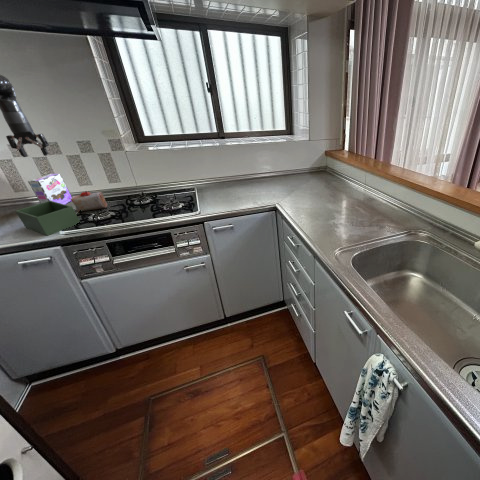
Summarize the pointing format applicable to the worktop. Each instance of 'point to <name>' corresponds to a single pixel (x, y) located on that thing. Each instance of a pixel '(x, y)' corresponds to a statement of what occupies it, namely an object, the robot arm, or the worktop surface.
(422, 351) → the worktop surface
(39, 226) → the bin
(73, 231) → the worktop surface
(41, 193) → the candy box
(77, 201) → the food item
